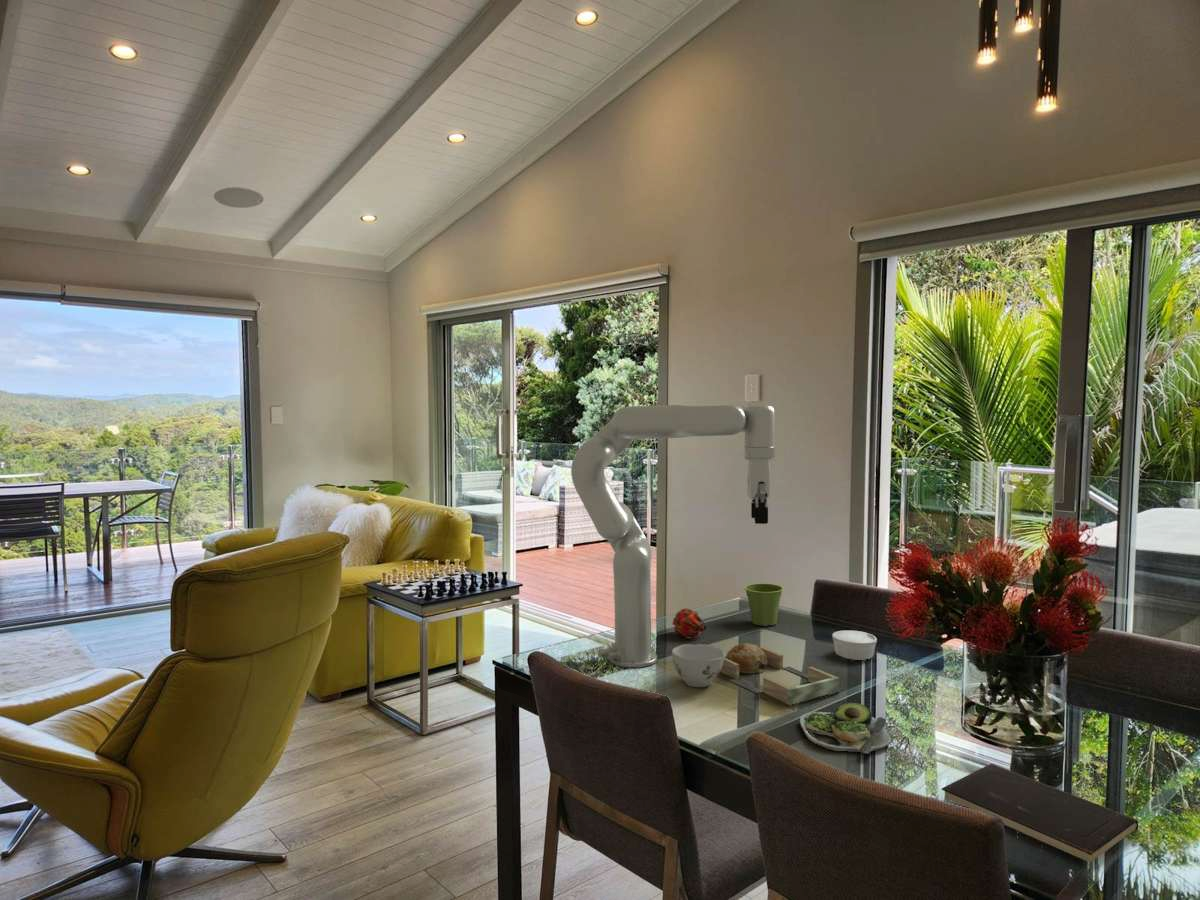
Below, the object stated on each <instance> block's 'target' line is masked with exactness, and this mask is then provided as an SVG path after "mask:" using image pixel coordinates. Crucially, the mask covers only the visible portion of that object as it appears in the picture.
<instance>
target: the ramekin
mask: <svg viewBox="0 0 1200 900" xmlns="http://www.w3.org/2000/svg"><path fill="white" fill-rule="evenodd" d="M831 636H832V640H833V646H834V652H835V653H836V655H837V656H838V655H839V656H841V657H844V658H847V659H853V660H852V661H854V660H864V661H867V660H866V659H869V660H870V658H871V659H872V658H873V657H874V654H875V650H876V644H877V642H878V639H877V637H876V636H875V635H874V634H871V633H868V632H865V631H861V630H860V631H859V630H851V629H850V630H838V631H835V632H833V633H832V635H831ZM839 656H838V657H839ZM841 657H840V658H841ZM844 658H843V659H844ZM847 659H846V660H847Z"/></svg>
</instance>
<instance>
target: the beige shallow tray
mask: <svg viewBox="0 0 1200 900" xmlns="http://www.w3.org/2000/svg"><path fill="white" fill-rule="evenodd" d="M758 647H759V648H760V649H761V650H763V652H764V653H765V655H766V657H767V665H769V666H770V667H771V666H772V667H774V668H776V669H778V670H782V669H783V670H785V671H787V672H790V673H792V674H795V675H796V676H798V677H801V678H804V679H806V678H807V679H806V680H808V681H807V682H809V683H805V684H804V683H803V684H801V685H796V686H792V687H790V686H788V685H785V684H783V683H781V682H779V681H777V680H774V679H773V678H771V677H768V676H765V677H763V678H762V679H763V680H762V690H761V689H758V688H757V687H754V686H753V685H751V684H749V683H746V682H745V681H743V680H741V679H740V672H739V664H737V663H735V662H733V661H731V660H729V659H726V658H725V657H724V660H723V665H722V668H721V670H720V672H719V673H723V674H725V675H726V676H729V677H731V679H729V680H728V681H729V682H730V683H733V684H735V685H738V686H739V687H742V688H744V689H746V690H747V691H750V692H752V693H754V694H756V695H757V694H762V693H764V694H765V695H768V696H769V697H772V698H774V699H776V700H778V701H781V702H782V703H784V704H787V705H788V706H793V705H792V704H794V705H796V704H795V703H798V702H802V701H806V700H808V699H812V698H815V697H818V696H822V695H825V694H828V693H832V692H836V691H839V692H840V687H841V686H840V684H841V681H840V679H841V678H840V677H838V676H836V675H833V674H830V673H828V672H826V671H823V670H821V669H818V668H816V667H814V666H808V668H807V669H808V673H805V672H803V671H801V670H798V669H796V668H794V667H793V668H792V667H791V666H785V667H784V655H783V654H781V653H779V652H777V651H774V650H772V649H769V648H767V647H765V646H758ZM810 682H811V683H810ZM806 702H807V701H806ZM802 703H803V702H802ZM798 704H799V703H798Z"/></svg>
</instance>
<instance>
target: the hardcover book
mask: <svg viewBox="0 0 1200 900" xmlns="http://www.w3.org/2000/svg"><path fill="white" fill-rule="evenodd" d="M941 790H942V791H944V799H947V800H948V799H949V800H948V801H951V800H952V801H951V802H953V801H954V802H953V803H955V804H958V805H960V806H962V805H963V806H962V807H964V806H966V807H969V808H973V809H976V810H979V811H982V812H985V813H988V814H992V815H995V816H997V817H998V818H1000V819H1001V820H1002V821H1003V823H1004V824H1003V825H1004V826H1007V827H1009V828H1011V829H1013V830H1016V831H1017V832H1020V833H1021V834H1025V835H1027V836H1028V837H1031V838H1034V839H1036V840H1038V841H1040V842H1043V843H1044V844H1046V845H1047V844H1048V845H1050V846H1052V847H1054V848H1056V849H1058V850H1061V851H1062V852H1065V853H1068V854H1070V855H1072V856H1073V857H1077V858H1079V859H1081V860H1083V861H1085V862H1087V863H1089V864H1090V863H1092V862H1093V861H1094V860H1096V859H1097V858H1098V857H1100V856H1101V855H1103V854H1104V853H1105V852H1107V851H1108V850H1110V849H1111V848H1112V847H1114V846H1115V845H1116V844H1117V843H1119V842H1120V841H1122V840H1124V839H1125V838H1126V837H1127V836H1128V835H1130V834H1131V833H1132V832H1134V831H1137V830H1139V820H1138V819H1136V818H1134V817H1132V816H1129V815H1126V814H1124V813H1121V812H1118V811H1116V810H1114V809H1111V808H1108V807H1106V806H1103V805H1100V804H1097V803H1096V802H1093V801H1090V800H1087V799H1085V798H1083V797H1079V796H1077V795H1074V794H1072V793H1069V792H1067V791H1065V790H1062V789H1059V788H1056V787H1054V786H1051V785H1049V784H1045V783H1043V782H1041V781H1038V780H1036V779H1034V778H1031V777H1028V776H1025V775H1023V774H1020V773H1018V772H1015V771H1012V770H1010V769H1008V768H1005V767H1002V766H999V765H996V764H994V763H989V764H987V765H985V766H984V767H981V768H979V769H977V770H975V771H973V772H971V773H969V774H967V775H965V776H963V777H962V778H959V779H957V780H956V781H953V782H951V783H949V784H948V785H946V786H944V787H942V788H941ZM966 807H965V808H966Z"/></svg>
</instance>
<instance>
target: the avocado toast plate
mask: <svg viewBox="0 0 1200 900" xmlns="http://www.w3.org/2000/svg"><path fill="white" fill-rule="evenodd" d="M871 712H872V711H870V709H869V707H868V706H866V705H865V704H863V703H858V702H848V703H847V702H845V703H841V704H840V705H839V706H837V707H836V710H835V711H834V712H825V711H810V712H806V713H804V714H803V715H800V717H799V727H800V728H801V730H803V732H804V735H805V736H806V737H807V738H808V740H809V741H811V742H812V743H813V742H814V743H813V744H814V745H816V744H818V745H821V746H824V747H828V748H838V749H857V750H858V751H860V752H861V753H860V754H865V755H867V754H870V752H873V751H876V750H879V749H882V748H885V747H887V746H889V745H890V744H891V741H892V739H891V736H890V735H889V733H888V732H887V731H886V729H884V726H886V723H887V719H886V718H885V717H884V718H883V717H882V716H881V717H880V716H879V717H878V718H875V717H873V716H872V713H871ZM831 713H832V714H834V719H832V717H831V716H829V715H826V714H831ZM806 727H807V728H809V729H812V730H816V731H822V732H826V733H833V734H834V736H835V737H836V738H837V739H839V740H841V741H844V742H848V743H850V744H851V745H852V746H836V744H831V743H827V742H824V741H822V740H820V739H818V738H817V737H816V738H817V739H816V738H814V737H812V736H811V735H810V734H809V733H808V731H807V730H806ZM818 745H817V746H818Z"/></svg>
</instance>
